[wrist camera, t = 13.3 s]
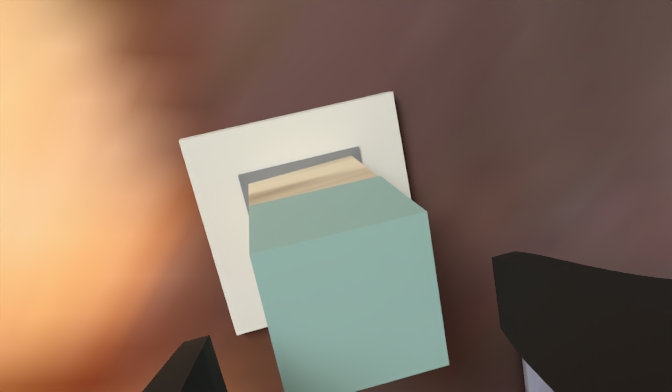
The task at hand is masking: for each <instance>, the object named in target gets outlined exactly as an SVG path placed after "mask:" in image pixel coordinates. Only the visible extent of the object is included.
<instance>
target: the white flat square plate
mask: <svg viewBox="0 0 672 392" xmlns="http://www.w3.org/2000/svg"><path fill="white" fill-rule="evenodd" d="M179 143H180V147H181V150H182V154H183V157H184V160H185V164H186V167H187V170H188V174H189V177H190V180H191V184H192V187H193V190H194V194H195V197H196V201H197V204H198V207H199V211H200V214H201V217H202V221H203V224H204V227H205V231H206V234H207V237H208V241H209V244H210V247H211V251H212V254H213V258H214V261H215V264H216V268H217V271H218V274H219V278H220V281H221V284H222V288H223V291H224V294H225V298H226V301H227V304H228V308H229V311H230V315H231V318H232V321H233V325H234V328H235V331H236V335H240V334H243V333H247V332H251V331H254V330H258V329H261V328H265V327H268V326H267V322H266V318H265V314H264V310H263V306H262V302H261V298H260V294H259V290H258V286H257V283H256V279H255V275H254V271H253V267H252V263H251V259H250V255H249V195H248V184H250V183H254V182H257V181H261V180H265V179H268V178H272V177H275V176H279V175H283V174H286V173H290V172H293V171H297V170H301V169H304V168H308V167H312V166H315V165H319V164H322V163H326V162H330V161H333V160H337V159H341V158H344V157H348V156H351V155H352V156H353V157H354V158H355V159H357V160H358V161H359V162H360V163H362V164H363V165H364V166H366V167H367V168H368V169H369V170H371V171H372V172H373V173H374V174H376V175H377V176H381V177H383V178H384V179H385V180H387V181H388V182H389V183H390V184H392V185H393V186H394V187H396V188H397V189H398V190H400V191H401V192H402V193H403V194H405V195H406V196H407V197H409V198H410V199H411V195H410V189H409V183H408V177H407V171H406V166H405V160H404V154H403V148H402V142H401V136H400V130H399V125H398V119H397V113H396V107H395V101H394V95H393V92H385V93H380V94H376V95H372V96H367V97H363V98H358V99H354V100H350V101H345V102H341V103H336V104H332V105H328V106H323V107H319V108H314V109H310V110H305V111H301V112H297V113H292V114H288V115H283V116H279V117H275V118H270V119H266V120H261V121H257V122H253V123H248V124H244V125H239V126H235V127H231V128H226V129H222V130H217V131H213V132H209V133H204V134H200V135H195V136H191V137H187V138H182V139H180V140H179Z"/></svg>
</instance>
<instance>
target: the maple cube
mask: <svg viewBox="0 0 672 392" xmlns="http://www.w3.org/2000/svg"><path fill="white" fill-rule="evenodd" d="M373 177H377V175H376V174H374V173H373V172H372V171H371V170H369V169H368V168H367V167H366V166H364V165H363V164H362V163H360V162H359V161H358V160H357V159H355V158H354V157H353V156H352V155H351V156H348V157H344V158H341V159H337V160H333V161H330V162H326V163H322V164H319V165H315V166H312V167H308V168H304V169H301V170H297V171H293V172H290V173H286V174H283V175H279V176H275V177H272V178H268V179H265V180H261V181H257V182H254V183H250V184H248V195H249V206H251V205H255V204H259V203H264V202H268V201H273V200H277V199H281V198H286V197H290V196H294V195H299V194H303V193H307V192H312V191H316V190H321V189H325V188H329V187H334V186H338V185H342V184H347V183H351V182H355V181H360V180H364V179H369V178H373Z"/></svg>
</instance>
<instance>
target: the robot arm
mask: <svg viewBox="0 0 672 392" xmlns="http://www.w3.org/2000/svg"><path fill="white" fill-rule="evenodd" d="M492 263H493V271H494V278H495V286H496V294H497V302H498V310H499V318H500V326H501V329H502V330H503V332H504V333H505V335H506V336H507V338H508V339H509V341H510V342H511V343H512V345H513V346H514V348H515V349H516V350H517V352H518V353H519V354H520V356H521V357H522V363H523V371H524V380H525V389H526V392H672V279H663V278H654V277H647V276H640V275H634V274H628V273H622V272H617V271H611V270H606V269H601V268H596V267H591V266H586V265H581V264H577V263H572V262H568V261H563V260H559V259H554V258H550V257H545V256H541V255H536V254H530V253H524V252H510V253H507V254H503V255H499V256H496V257H492ZM142 392H227V389H226V386H225V383H224V379H223V376H222V373H221V370H220V367H219V364H218V360H217V357H216V354H215V351H214V348H213V345H212V341H211V338H210V335H208V336H205V337H201V338H197V339H194V340H190V341H186V342H184V343H183V344H182V345H181V346H180V347H179V348H178V349H177V350H176V351H175V353H174V354H173V355H172V356H171V357H170V359H169V360H168V361H167V362H166V364H165V365H164V366H163V367H162V368H161V370H160V371H159V372H158V373H157V375H156V376H155V377H154V378H153V379H152V381H151V382H150V383H149V384H148V385H147V387H146V388H145V389H144V390H143V391H142Z"/></svg>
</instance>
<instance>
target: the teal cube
mask: <svg viewBox="0 0 672 392" xmlns="http://www.w3.org/2000/svg"><path fill="white" fill-rule="evenodd" d="M249 255H250V259H251V263H252V267H253V271H254V275H255V279H256V283H257V286H258V290H259V294H260V298H261V302H262V306H263V310H264V314H265V318H266V322H267V326H268V329H269V333H270V337H271V341H272V345H273V349H274V353H275V357H276V361H277V365H278V369H279V372H280V376H281V380H282V384H283V388H284V392H355V391H359V390H362V389H366V388H369V387H373V386H377V385H380V384H384V383H387V382H391V381H394V380H398V379H401V378H405V377H408V376H412V375H415V374H419V373H423V372H426V371H430V370H433V369H437V368H440V367H444V366H447V365H449V360H448V353H447V346H446V339H445V332H444V325H443V318H442V311H441V304H440V297H439V290H438V283H437V277H436V270H435V263H434V256H433V249H432V242H431V235H430V228H429V221H428V214H427V211H425V210H424V209H423V208H422V207H420V206H419V205H418V204H416V203H415V202H414V201H412V200H411V199H410V198H409V197H407V196H406V195H405V194H403V193H402V192H401V191H400V190H398V189H397V188H396V187H394V186H393V185H392V184H390V183H389V182H388V181H387V180H385V179H384V178H383V177H381V176H377V177H373V178H369V179H364V180H360V181H355V182H351V183H347V184H342V185H338V186H334V187H329V188H325V189H321V190H316V191H312V192H307V193H303V194H299V195H294V196H290V197H286V198H281V199H277V200H273V201H268V202H264V203H259V204H255V205H251V206H249Z"/></svg>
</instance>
